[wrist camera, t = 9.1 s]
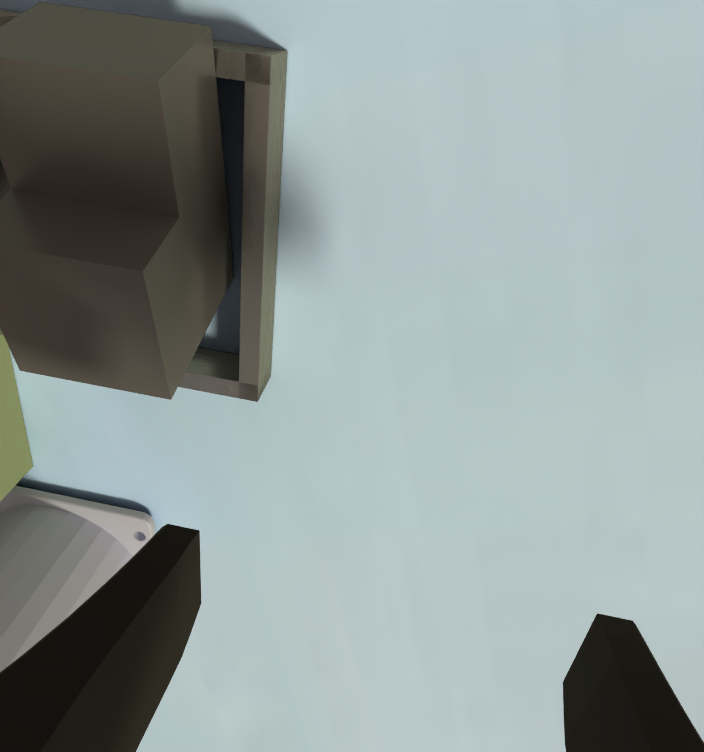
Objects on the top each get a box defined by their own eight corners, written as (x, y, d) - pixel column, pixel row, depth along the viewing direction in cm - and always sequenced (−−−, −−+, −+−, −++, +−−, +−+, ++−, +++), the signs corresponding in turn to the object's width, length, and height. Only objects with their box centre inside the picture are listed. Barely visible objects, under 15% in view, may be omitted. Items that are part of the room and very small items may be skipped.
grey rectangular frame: (270, 376, 21) (257, 401, 20) (4, 326, 22) (-25, 348, 20) (287, 50, 16) (271, 56, 14) (-63, 0, 16) (-109, 1, 15)
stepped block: (233, 276, 19) (171, 399, 16) (107, 254, 20) (19, 370, 16) (211, 26, 14) (111, 128, 11) (40, 2, 14) (-109, 94, 11)
